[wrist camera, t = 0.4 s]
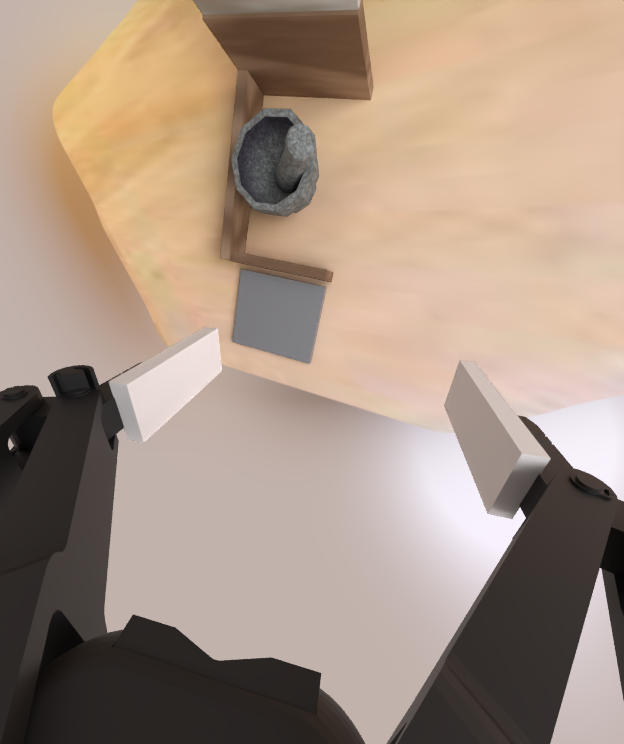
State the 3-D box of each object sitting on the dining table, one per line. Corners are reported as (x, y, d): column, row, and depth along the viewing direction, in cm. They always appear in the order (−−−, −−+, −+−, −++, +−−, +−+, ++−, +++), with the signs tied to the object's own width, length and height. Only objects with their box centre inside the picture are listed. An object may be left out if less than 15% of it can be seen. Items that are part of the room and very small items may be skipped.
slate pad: (244, 269, 41) (241, 268, 40) (326, 287, 38) (325, 287, 37) (235, 341, 44) (232, 341, 43) (310, 362, 41) (309, 363, 40)
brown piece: (256, 82, 34) (-6, -317, 12) (373, 86, 31) (304, -462, 9) (236, 262, 41) (40, 213, 19) (331, 282, 37) (229, 251, 15)
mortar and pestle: (256, 221, 39) (197, 188, 27) (264, 142, 36) (203, 70, 25) (332, 231, 36) (302, 200, 25) (348, 147, 33) (321, 68, 22)
